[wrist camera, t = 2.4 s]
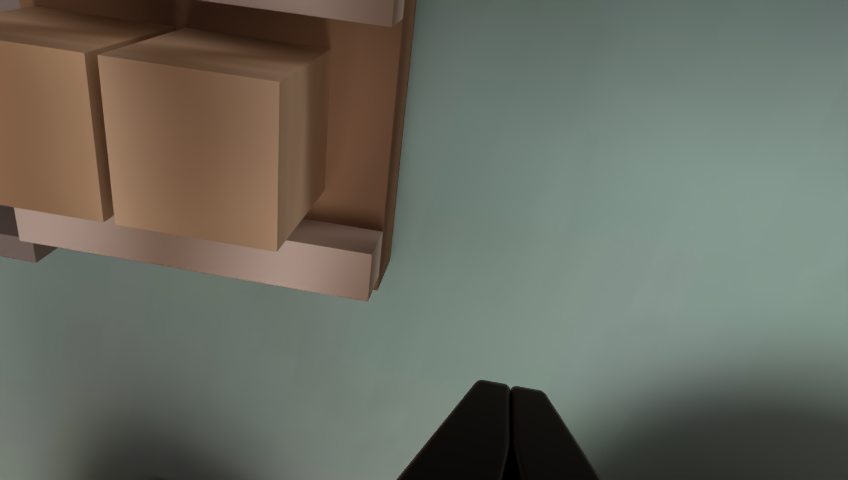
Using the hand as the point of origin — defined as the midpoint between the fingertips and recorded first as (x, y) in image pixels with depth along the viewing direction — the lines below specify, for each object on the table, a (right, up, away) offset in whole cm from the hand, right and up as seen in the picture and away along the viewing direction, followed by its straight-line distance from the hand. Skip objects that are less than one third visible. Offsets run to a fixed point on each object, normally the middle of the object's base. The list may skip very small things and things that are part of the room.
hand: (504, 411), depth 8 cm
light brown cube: (-10, +6, +10) cm, 16 cm away
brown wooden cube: (-6, +6, +10) cm, 13 cm away
